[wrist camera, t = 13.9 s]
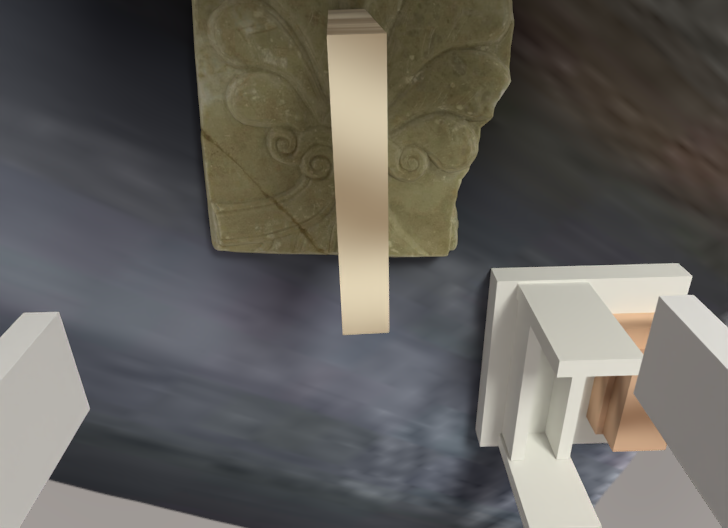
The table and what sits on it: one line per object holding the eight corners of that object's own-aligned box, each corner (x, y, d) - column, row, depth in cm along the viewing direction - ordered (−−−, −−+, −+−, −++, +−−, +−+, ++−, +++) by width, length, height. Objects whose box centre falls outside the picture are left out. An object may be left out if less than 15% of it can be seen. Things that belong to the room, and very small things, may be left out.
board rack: (491, 268, 42) (534, 358, 32) (678, 263, 42) (777, 351, 32) (475, 429, 49) (506, 542, 40) (634, 424, 50) (703, 536, 40)
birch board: (328, 9, 31) (326, 35, 19) (364, 8, 31) (386, 33, 19) (338, 211, 37) (342, 334, 24) (369, 210, 37) (389, 332, 24)
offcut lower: (608, 313, 42) (619, 329, 40) (675, 311, 42) (690, 327, 40) (586, 416, 46) (595, 434, 45) (646, 414, 46) (658, 432, 45)
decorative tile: (217, 237, 41) (206, 259, 38) (196, -84, 32) (180, -90, 29) (469, 248, 42) (479, 271, 39) (520, -60, 33) (538, -64, 30)
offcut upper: (621, 349, 41) (634, 366, 39) (676, 347, 41) (691, 365, 39) (602, 432, 44) (612, 451, 43) (652, 430, 44) (665, 450, 43)
